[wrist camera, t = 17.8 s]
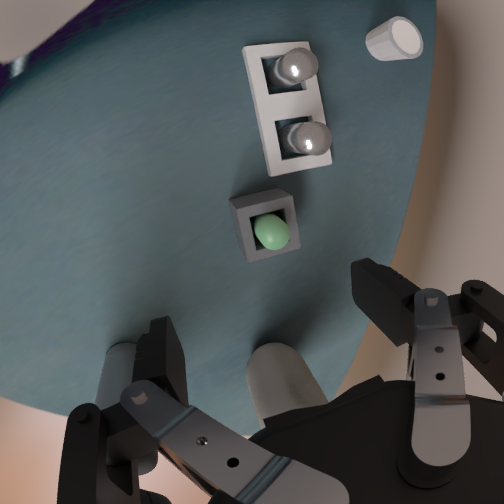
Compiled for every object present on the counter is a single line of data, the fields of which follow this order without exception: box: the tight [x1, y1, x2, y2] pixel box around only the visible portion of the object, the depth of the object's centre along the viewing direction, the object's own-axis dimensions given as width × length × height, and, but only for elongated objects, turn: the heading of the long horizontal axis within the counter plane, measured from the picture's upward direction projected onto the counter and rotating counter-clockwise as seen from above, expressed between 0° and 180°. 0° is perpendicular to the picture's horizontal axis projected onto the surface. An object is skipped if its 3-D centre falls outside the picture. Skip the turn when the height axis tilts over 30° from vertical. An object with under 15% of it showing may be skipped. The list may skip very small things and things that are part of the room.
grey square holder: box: [229, 188, 301, 263], centre depth 40 cm, size 7×7×6 cm
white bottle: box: [246, 343, 329, 429], centre depth 39 cm, size 10×10×28 cm
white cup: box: [366, 16, 423, 61], centre depth 34 cm, size 7×7×7 cm
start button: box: [250, 212, 290, 250], centre depth 38 cm, size 4×4×6 cm
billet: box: [279, 121, 332, 156], centre depth 36 cm, size 4×4×8 cm
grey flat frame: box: [242, 41, 332, 177], centre depth 38 cm, size 18×9×2 cm, turn 11°
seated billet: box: [266, 47, 319, 89], centre depth 33 cm, size 4×4×8 cm
